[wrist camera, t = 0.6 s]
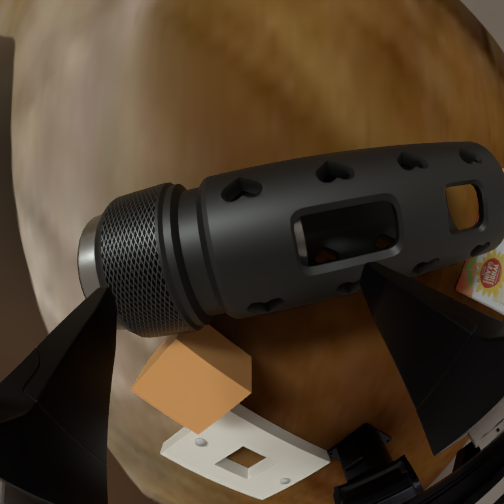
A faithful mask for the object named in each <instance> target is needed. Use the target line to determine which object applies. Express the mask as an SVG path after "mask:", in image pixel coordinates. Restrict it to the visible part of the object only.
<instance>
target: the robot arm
mask: <svg viewBox="0 0 504 504" xmlns="http://www.w3.org/2000/svg"><path fill="white" fill-rule="evenodd" d="M360 287H361V290H362V292H363V295H364V297H365V299H366V302H367V304H368V307H369V310H370V312H371V315H372V317H373V319H374V321H375V323H376V325H377V327H378V329H379V331H380V333H381V335H382V337H383V339H384V341H385V343H386V345H387V347H388V350H389V352H390V354H391V356H392V358H393V360H394V362H395V364H396V366H397V368H398V371H399V373H400V375H401V377H402V379H403V382H404V384H405V386H406V388H407V391H408V393H409V395H410V397H411V400H412V402H413V404H414V407H415V409H416V412H417V414H418V417H419V419H420V422H421V424H422V427H423V429H424V432H425V434H426V437H427V439H428V442H429V445H430V447H431V450H432V453H433V455H434V456H436V455H437V454H439V453H440V452H442V451H443V450H445V449H447V448H448V447H450V446H451V445H453V444H454V443H455V442H457V441H458V440H460V439H461V438H463V437H464V436H465V435H467V434H468V436H469V437H470V439H471V442H470V443H469V444H468V445H466V446H465V447H463V448H462V449H461V450H459V451H458V452H457V455H456V459H455V463H454V468H453V471H452V473H451V474H450V475H448V476H447V477H445V478H444V479H442V480H441V481H439V482H438V483H436V484H435V485H433V486H431V487H430V488H428V489H427V490H425V491H423V488H422V485H421V483H420V481H419V479H418V477H417V475H416V473H415V472H414V470H413V468H412V467H411V465H410V463H409V462H408V460H407V458H406V457H405V455H403V456H401V457H400V458H399V459H397V460H395V461H393V460H392V458H391V456H390V454H389V452H388V450H387V448H386V446H385V445H386V444H388V443H389V442H390V441H391V440H392V438H391V437H390V436H389V435H387V434H385V433H383V432H382V431H380V430H378V429H376V428H375V427H373V426H371V425H370V424H368V423H366V424H363V425H362V426H361V427H359V428H358V429H357V430H356V431H354V432H353V433H352V434H350V435H349V436H348V437H346V438H345V439H344V440H342V441H341V442H339V443H338V444H337V445H335V446H334V447H332V448H331V449H329V450H328V451H327V454H328V455H329V457H332V458H334V459H336V460H339V461H340V462H341V465H342V468H343V470H344V473H345V477H346V480H347V482H348V483H346V484H343V485H340V486H336V487H334V494H333V497H334V501H335V504H504V322H503V321H500V320H498V319H495V318H493V317H491V316H489V315H486V314H484V313H482V312H480V311H477V310H475V309H473V308H471V307H469V306H467V305H464V304H462V303H460V302H458V301H456V300H454V299H452V298H449V297H448V296H446V295H444V294H442V293H440V292H438V291H436V290H434V289H432V288H430V287H428V286H426V285H424V284H422V283H420V282H418V281H416V280H414V279H412V278H409V277H407V276H405V275H403V274H401V273H399V272H397V271H395V270H392V269H390V268H388V267H386V266H384V265H382V264H380V263H377V262H367V263H365V265H364V267H363V271H362V274H361V278H360ZM116 329H117V305H116V302H115V299H114V296H113V293H112V290H111V288H110V287H98V288H97V289H96V290H95V291H94V292H93V293H92V294H90V295H89V296H88V297H87V298H86V299H85V300H84V301H83V302H82V303H81V304H80V305H79V306H78V307H77V308H75V309H74V310H73V311H72V312H71V313H70V314H69V315H68V316H67V317H66V318H65V319H64V320H63V321H62V322H61V323H60V324H59V325H58V326H57V327H56V328H55V329H54V330H53V331H52V332H51V333H50V334H49V335H48V336H47V337H46V338H45V339H44V340H43V341H42V342H41V343H40V344H39V345H38V346H37V348H35V349H34V350H33V351H32V352H31V353H30V354H29V355H28V356H27V357H26V358H25V359H24V361H22V362H21V364H19V365H18V366H17V367H16V368H15V369H14V370H13V371H12V372H11V373H10V374H9V375H8V376H7V377H6V378H5V379H4V380H3V381H1V382H0V504H108V496H107V465H106V463H107V434H108V416H109V403H110V393H111V383H112V374H113V366H114V359H115V351H116Z"/></svg>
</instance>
